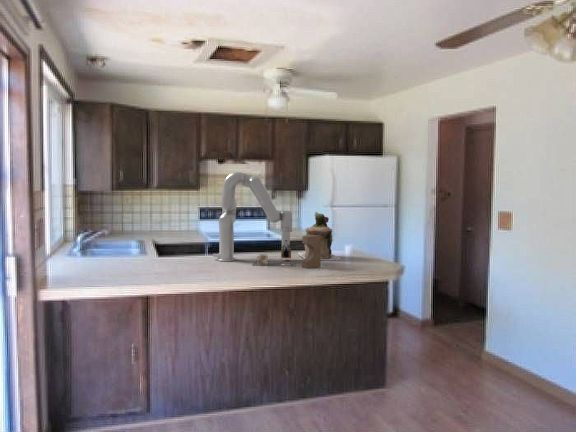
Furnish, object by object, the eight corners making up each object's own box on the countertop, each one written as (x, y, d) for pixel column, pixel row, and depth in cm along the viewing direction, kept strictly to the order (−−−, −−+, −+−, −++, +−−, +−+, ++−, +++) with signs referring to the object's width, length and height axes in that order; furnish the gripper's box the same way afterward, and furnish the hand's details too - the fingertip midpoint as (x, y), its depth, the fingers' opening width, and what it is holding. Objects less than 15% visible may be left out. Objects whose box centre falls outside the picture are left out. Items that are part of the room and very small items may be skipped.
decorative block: (307, 268, 305) (307, 236, 303) (301, 267, 310) (301, 235, 308) (320, 267, 312) (321, 235, 310) (315, 265, 316) (315, 234, 315)
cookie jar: (306, 261, 330) (307, 214, 327) (296, 255, 354) (297, 211, 351) (341, 260, 336) (342, 213, 333) (329, 254, 360) (330, 210, 357)
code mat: (251, 266, 312) (251, 265, 312) (253, 262, 324) (253, 262, 324) (296, 266, 312) (296, 266, 312) (295, 263, 324) (295, 262, 324)
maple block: (257, 265, 314) (257, 255, 314) (257, 263, 321) (257, 254, 320) (267, 265, 314) (267, 255, 314) (267, 263, 321) (267, 254, 320)
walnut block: (281, 258, 328) (281, 249, 328) (281, 256, 335) (281, 247, 334) (291, 258, 328) (291, 249, 328) (290, 256, 335) (291, 247, 334)
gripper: (280, 227, 338) (280, 253, 340) (280, 230, 321) (280, 258, 323) (291, 227, 338) (291, 253, 340) (291, 230, 321) (291, 258, 323)
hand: (286, 255), depth 331 cm, fingers closed on walnut block, 6 cm apart
